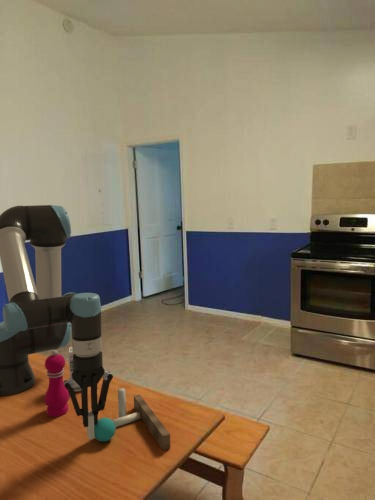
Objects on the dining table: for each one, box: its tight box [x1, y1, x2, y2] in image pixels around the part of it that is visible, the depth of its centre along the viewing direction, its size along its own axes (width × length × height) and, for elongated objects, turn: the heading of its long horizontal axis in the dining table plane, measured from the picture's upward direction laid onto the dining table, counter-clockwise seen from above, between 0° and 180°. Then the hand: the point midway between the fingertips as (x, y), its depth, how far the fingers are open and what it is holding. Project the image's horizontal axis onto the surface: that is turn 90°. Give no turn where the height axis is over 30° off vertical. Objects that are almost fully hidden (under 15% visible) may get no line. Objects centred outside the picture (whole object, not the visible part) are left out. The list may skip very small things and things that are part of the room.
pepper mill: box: [44, 350, 70, 418], centre depth 120 cm, size 7×7×20 cm
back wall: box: [133, 394, 171, 451], centre depth 113 cm, size 24×2×4 cm, turn 26°
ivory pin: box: [111, 411, 141, 428], centre depth 114 cm, size 2×2×9 cm
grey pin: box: [117, 387, 127, 418], centre depth 117 cm, size 2×2×9 cm
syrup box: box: [68, 346, 81, 393], centre depth 136 cm, size 6×6×14 cm
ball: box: [94, 417, 116, 443], centre depth 106 cm, size 6×6×6 cm
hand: (90, 436), depth 105 cm, fingers closed
